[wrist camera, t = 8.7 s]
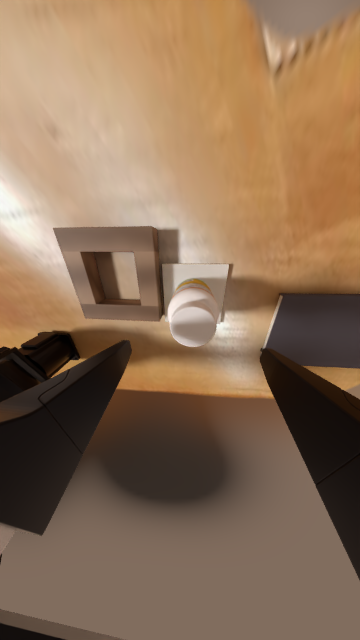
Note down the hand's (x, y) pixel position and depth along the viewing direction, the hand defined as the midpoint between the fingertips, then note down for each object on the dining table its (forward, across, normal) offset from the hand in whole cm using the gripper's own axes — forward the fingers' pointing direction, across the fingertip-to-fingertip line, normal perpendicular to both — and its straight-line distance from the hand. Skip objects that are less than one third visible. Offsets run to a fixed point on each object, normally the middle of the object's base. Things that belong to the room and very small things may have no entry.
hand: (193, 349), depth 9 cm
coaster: (+13, 0, 0) cm, 13 cm away
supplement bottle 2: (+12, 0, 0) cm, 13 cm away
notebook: (+14, -23, +6) cm, 27 cm away
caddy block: (+13, +11, -2) cm, 17 cm away
